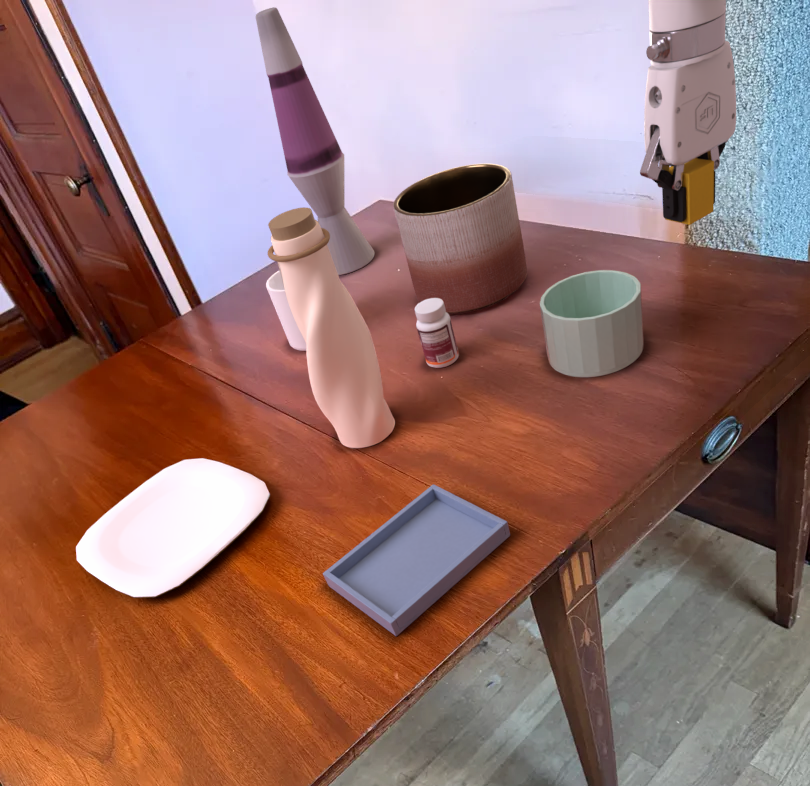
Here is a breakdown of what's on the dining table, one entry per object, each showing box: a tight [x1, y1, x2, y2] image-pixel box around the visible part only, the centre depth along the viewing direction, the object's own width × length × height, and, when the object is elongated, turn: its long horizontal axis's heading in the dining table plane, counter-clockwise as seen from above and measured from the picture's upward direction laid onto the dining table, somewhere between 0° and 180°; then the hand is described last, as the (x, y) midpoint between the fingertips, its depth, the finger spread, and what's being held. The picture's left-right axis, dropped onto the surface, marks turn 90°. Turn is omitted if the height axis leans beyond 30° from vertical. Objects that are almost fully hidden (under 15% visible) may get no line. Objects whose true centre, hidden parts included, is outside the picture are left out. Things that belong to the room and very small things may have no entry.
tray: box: [322, 483, 511, 637], centre depth 77 cm, size 16×11×2 cm
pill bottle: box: [414, 298, 460, 369], centre depth 102 cm, size 5×5×8 cm
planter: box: [392, 163, 528, 315], centre depth 113 cm, size 18×18×16 cm
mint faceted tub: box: [539, 269, 644, 378], centre depth 94 cm, size 12×12×8 cm
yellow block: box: [664, 158, 715, 226], centre depth 90 cm, size 4×4×6 cm
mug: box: [265, 270, 307, 352], centre depth 118 cm, size 13×10×10 cm
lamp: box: [255, 6, 376, 276], centre depth 126 cm, size 11×11×40 cm
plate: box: [75, 457, 271, 599], centre depth 92 cm, size 22×22×2 cm
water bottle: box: [267, 207, 396, 449], centre depth 89 cm, size 10×9×28 cm
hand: (689, 209), depth 92 cm, fingers closed on yellow block, 4 cm apart
